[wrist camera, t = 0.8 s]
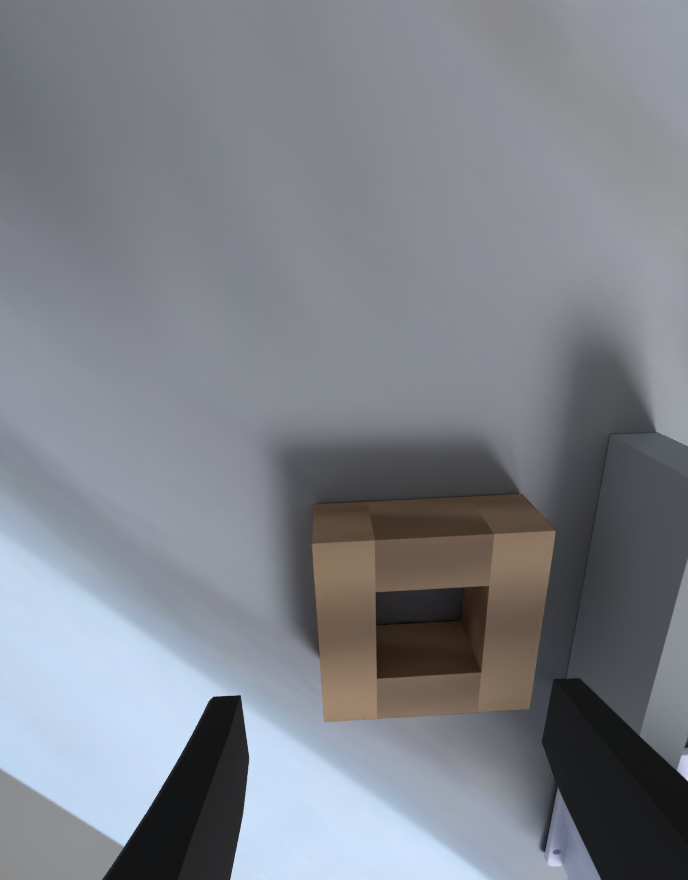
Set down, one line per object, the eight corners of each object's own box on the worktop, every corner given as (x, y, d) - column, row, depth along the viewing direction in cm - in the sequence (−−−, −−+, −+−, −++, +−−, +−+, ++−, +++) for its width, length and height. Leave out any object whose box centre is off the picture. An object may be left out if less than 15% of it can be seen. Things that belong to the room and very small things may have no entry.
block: (503, 654, 22) (529, 709, 19) (324, 665, 22) (324, 722, 19) (522, 493, 19) (556, 530, 16) (313, 504, 19) (311, 543, 16)
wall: (602, 683, 23) (671, 785, 19) (564, 685, 23) (625, 788, 19) (657, 432, 19) (769, 484, 14) (610, 434, 19) (707, 487, 14)
